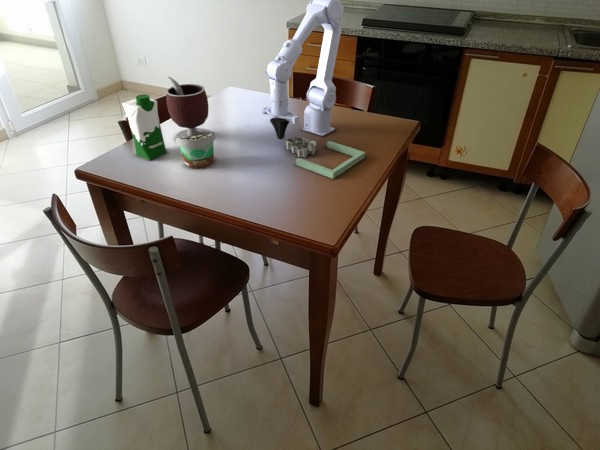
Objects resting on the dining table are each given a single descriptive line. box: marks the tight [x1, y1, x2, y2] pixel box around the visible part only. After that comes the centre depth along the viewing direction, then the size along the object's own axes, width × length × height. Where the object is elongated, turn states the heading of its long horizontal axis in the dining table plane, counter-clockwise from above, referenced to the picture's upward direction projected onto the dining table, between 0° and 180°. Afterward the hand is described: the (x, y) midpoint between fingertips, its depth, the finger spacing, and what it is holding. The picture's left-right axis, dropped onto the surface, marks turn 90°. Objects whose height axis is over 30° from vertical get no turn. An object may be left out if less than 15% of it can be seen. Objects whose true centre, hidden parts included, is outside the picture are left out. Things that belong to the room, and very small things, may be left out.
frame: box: [295, 140, 366, 180], centre depth 137 cm, size 14×18×2 cm
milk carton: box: [121, 94, 167, 161], centre depth 137 cm, size 9×9×20 cm
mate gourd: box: [165, 76, 211, 140], centre depth 149 cm, size 16×14×20 cm
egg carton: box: [284, 135, 318, 158], centre depth 143 cm, size 11×8×4 cm
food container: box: [175, 129, 216, 170], centre depth 133 cm, size 12×6×10 cm, turn 117°
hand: (280, 138), depth 147 cm, fingers closed
